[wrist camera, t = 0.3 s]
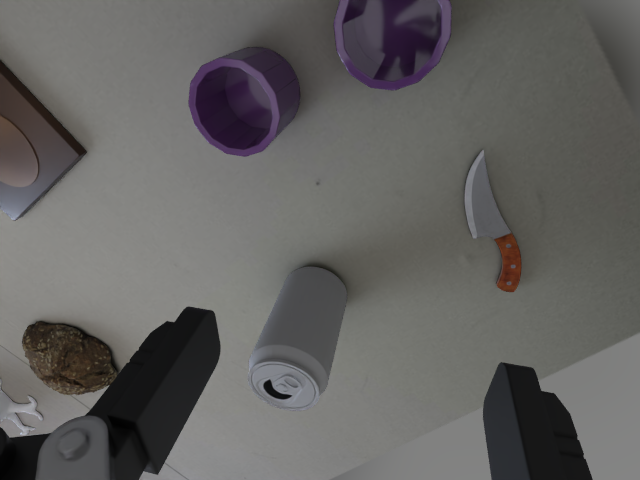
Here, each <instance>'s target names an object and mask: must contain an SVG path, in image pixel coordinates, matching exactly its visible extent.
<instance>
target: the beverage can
mask: <svg viewBox="0 0 640 480" xmlns="http://www.w3.org/2000/svg"><path fill="white" fill-rule="evenodd" d="M346 302H347V291H346V288H345V286H344V284H343V283H342V281H341V280H340V279H339V278H338V277H337V276H336V275H334V274H333V273H331V272H330V271H328V270H325V269H322V268H318V267H303V268H299V269H297V270H295V271H293V272H292V273H291V274H290V275H289V276H288V277H287V279H286V280H285V283H284V285H283V287H282V289H281V291H280V294H279V296H278V298H277V300H276V302H275V305H274V307H273V309H272V311H271V313H270V315H269V318H268V320H267V322H266V324H265V326H264V329H263V331H262V333H261V335H260V337H259V340H258V342H257V344H256V346H255V348H254V350H253V353H252V355H251V357H250V360H249V369H250V371H249V374H248V383H249V386H250V388H251V389H252V391H253V392H254V393H255V394H256V395H257V396H258V397H259V398H260V399H261V400H263V401H264V402H266V403H268V404H269V405H272V406H274V407H277V408H280V409H284V410H289V411H301V410H306V409H309V408H311V407H312V406H314V405H315V404H316V403H317V401H318V399H319V396H320V395H321V394H322V393H323V392H324V391H325V389H326V387H327V384H328V380H329V375H330V371H331V367H332V362H333V358H334V354H335V350H336V345H337V341H338V337H339V332H340V328H341V324H342V319H343V315H344V311H345V307H346Z"/></svg>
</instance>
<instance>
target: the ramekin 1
mask: <svg viewBox="0 0 640 480" xmlns="http://www.w3.org/2000/svg"><path fill="white" fill-rule="evenodd" d="M299 103H300V87H299V82H298V79H297V77H296V74H295V72H294V70H293V69H292V67H291V66H290V65H289V63H288V62H287V61H286V60H285V59H284V58H283V57H282V56H280V55H279V54H278V53H276V52H274V51H272V50H270V49H267V48H263V47H247V48H244V49H242V50H239V51H236V52H233V53H230V54H228V55H225V56H222V57H219V58H217V59H215V60H213V61H211V62H208V63H206V64H204V65H202V66H201V67H200V69H199V70H198V72H197V73H196V75H195V76H194V78H193V79H192V81H191V83H190V92H189V108H190V111H191V114H192V117H193V120H194V124H195V126H196V127H197V128H198V130H199V131H200V132H201V134H202V135H203V136H204V138H205V139H206V140H207V141H208V142H209V143H210V144H211V145H213V146H215V147H216V148H218V149H219V150H221V151H223V152H224V153H226V154H231V155H238V156H244V157H245V156H249V155H252V154H255V153H258V152H261V151H263V150H264V149H265V148H266V147H267V146H268V145H269V144H270V143H271V142H272V141H273V140H274V139H275V138H276V137H277V136H278V135H279V134H280V133H281V132H282V131H283V130H284V128H285V127H286V126H287V125H288V124H289V123H290V122H291V121H292V120H293V118H294V117H295V115H296V113H297V110H298V107H299Z"/></svg>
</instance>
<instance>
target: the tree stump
mask: <svg viewBox="0 0 640 480" xmlns="http://www.w3.org/2000/svg"><path fill="white" fill-rule="evenodd" d="M1 384H2V381H1V379H0V423H1V422H2V421H3V420H4V419H5V418H7V419H10V420H12V421H13V422H14V423H15V424H16V425H17V426H18V427H19V428H20V429H21V430H22V431H23V432H21V433H20V435H27V434H28V433H29V430H35V428H32V427H29V426H24V425H23V424H22V422H21V421H20V419H19V418H18V416H17V415H16V413H15V412H25V413H28V414H32V415H36V416H37V417H38V418H39V419H40V421H42V420H43V417H42V415H40V413H39V412H37V411H36V410H35V408H36V407H37V402H36V401H35V399H33V398H32V397H30V396H29V395H28V399H29V400H30V401H31V403H29V404H17V403H15V402H13V401H12V400H11V399H10V398H9V397H8V396H7V395H6V394H5V393H4V392H3V391H2V390H1Z"/></svg>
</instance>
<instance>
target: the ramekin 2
mask: <svg viewBox="0 0 640 480" xmlns="http://www.w3.org/2000/svg"><path fill="white" fill-rule="evenodd" d="M451 14H452V5H451V2H450V0H340V2H339V5H338V9H337V12H336V16H335V20H334V33H335V42H336V50H337V53H338V55H339V56H340V58H341V60H342V62H343V63H344V65H345V67H346V69H347V70H348V72H349V73H350V74H351V75H352V76H353V77H355V78H356V79H358V80H359V81H361V82H362V83H364V84H365V85H367V86H368V87H370V88H377V89H385V90H397V89H400V88H403V87H406V86H409V85H412V84H415V83H417V82H419V81H420V80H421V79H422V78H423V77H424V76H425V75H427V74H428V73H429V72H430V71H431V70H432V69H433V68H434V67H435V66H436V65H437V64H438V63H439V61H440V59H441V57H442V55H443V52H444V50H445V48H446V46H447V43H448V41H449V39H450V37H451V36H450V35H451Z"/></svg>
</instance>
